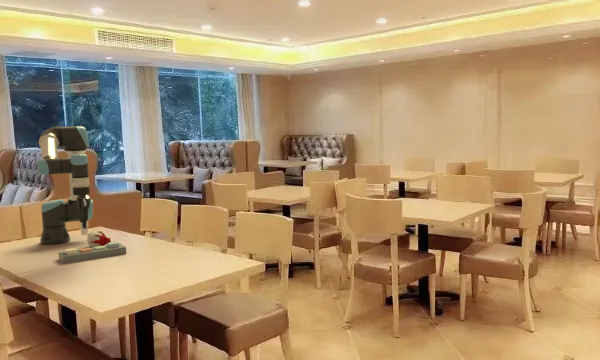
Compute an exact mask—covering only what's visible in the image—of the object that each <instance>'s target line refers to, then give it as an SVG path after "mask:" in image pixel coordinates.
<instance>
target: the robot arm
mask: <svg viewBox="0 0 600 360" xmlns="http://www.w3.org/2000/svg"><path fill="white" fill-rule="evenodd" d="M38 144H39V145H38V147H40V150H41V151H40V153H41V155H40V157H41V159H40V158H39V159H38V160H37V161H36V169H37V174H38V175H39V176H40V175H41V176H43V175H45V176H49V175H62V174H64V175H65V174H68V179H69V180H68V181H69V192H70V195H69V197H68V198H67V201H65V200H64V199H54V200H50V201H47V202H43V203H42V204H41V210H40V211H41V212H40V213H41V219H42V221H41V222H42V232H41V236H40V238H39V239H40V240H39V241H40V245H57V244H58V245H59V244H63V243H64V244H65V243H68V242H70V241H71V236H70V233H69V231H68V229H67V226H66V223H71V222H72V223H73V222H79V224H80V235H81V236H85V235H86V236H88V234H89V231H88V221H89V220H91V219H92V218H93V212H94V200H93V199H91V198H90V197H91V196H89V195H90V194H91V188H90V175H89V160H88V155H87V154H86V151H87V150H88V149H87V148H89V147H90V142H89V137H88V132H87V128H86V127H84V126H79V125H78V126H77V125H76V126H75V125H73V126H69V125H68V126H55V127H54V126H53V127H50V128H48V129H46V130H45V131H43V132H42V133H41V134H40V136H39V139H38ZM58 149H63V151H64V152H65V153H66V154H67V157H66V158H63V157H62V158H59V156H58V155H59V154H58V153H59V152H58Z"/></svg>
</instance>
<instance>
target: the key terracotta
mask: <svg viewBox="0 0 600 360" xmlns="http://www.w3.org/2000/svg"><path fill="white" fill-rule="evenodd" d="M90 248H91V247H87V248H80V249H79V250H80V252H81V253H83V252H89V251H92V249H90Z"/></svg>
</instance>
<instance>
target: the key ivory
mask: <svg viewBox="0 0 600 360" xmlns="http://www.w3.org/2000/svg"><path fill="white" fill-rule="evenodd" d="M77 250H78V249H77V248H76V247H73V248H72V247H71V248H66V249H65V250H64V252H66V255H70V254H76V253H77Z"/></svg>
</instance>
